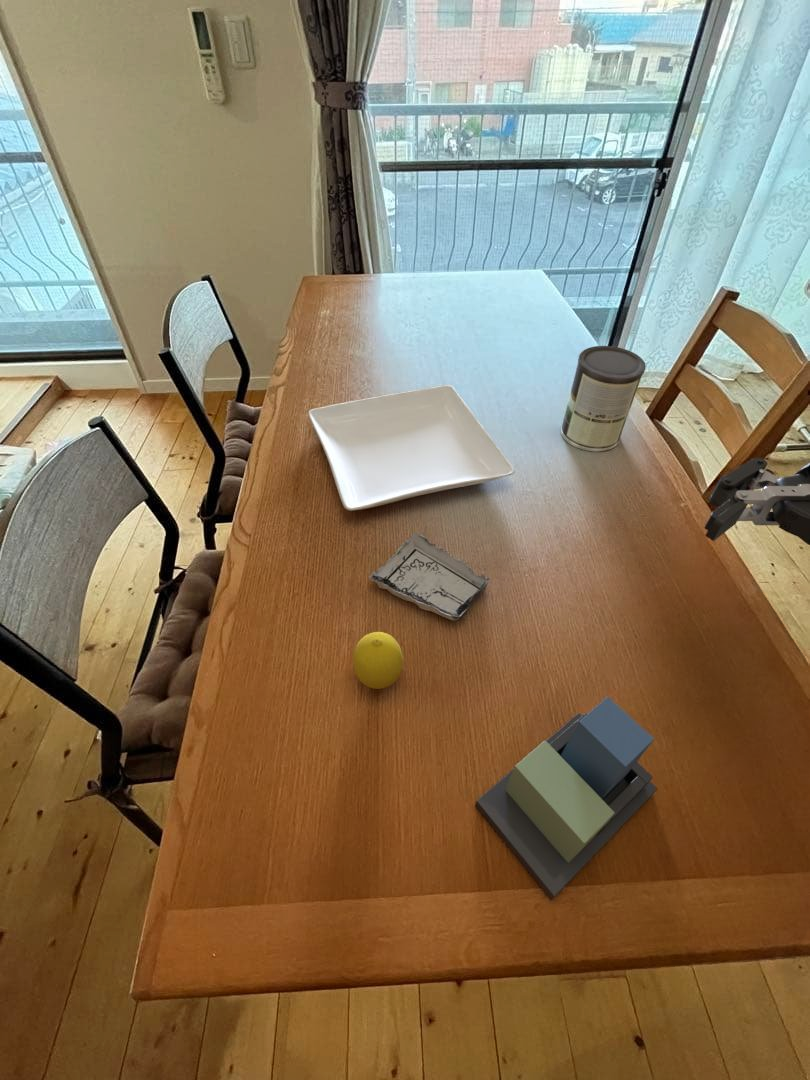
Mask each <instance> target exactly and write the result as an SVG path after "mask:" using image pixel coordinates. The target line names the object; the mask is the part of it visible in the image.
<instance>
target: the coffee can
mask: <svg viewBox="0 0 810 1080" xmlns="http://www.w3.org/2000/svg"><path fill="white" fill-rule="evenodd" d="M646 368H647V367H646V362H645V361H644V359H643V358H642V357H641V356H639V355H638V354H636V353H635V352H633V351H631V350H628V349H625V348H622V347H618V346H612V345H596V346H590V347H587V348H585V349H583V350H582V351H580V353H579V354H578V358H577V365H576V370H575V373H574V376H573V381H572V385H571V389H570V393H569V397H568V400H567V405H566V409H565V413H564V417H563V421H562V424H561V427H560V434H561V437H562V439H564V440H565V442H567V443H568V444H570V446H572V447H575V448H577V449H579V450H583V451H586V452H587V451H588V452H592V453H593V452H596V453H598V452H607V451H610V450H612V449H613V448H615V447H617V446H618V445H619V444H620V440H621V436H622V433H623V430H624V428H625V424H626V422H627V419H628V416H629V413H630V411H631V408H632V404H633V402H634V399H635V396H636V393H637V391H638V388H639V385H640V383H641V379H642V377H643V375H644V373H645V372H646Z"/></svg>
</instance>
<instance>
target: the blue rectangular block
mask: <svg viewBox="0 0 810 1080" xmlns="http://www.w3.org/2000/svg"><path fill="white" fill-rule="evenodd" d="M586 714H587V715H586V716H585V717H583V718H582V719H581V720H580V721H579V722H578V724H577V726H576V728H575V730H574V732H573V734H572V735H571V737H570V739H569V741H568V743H567V745H566V747H565V749H564V751H563V752H562V754H561V757H562V758H563V759H564V760H565V761H566V762H567V763H568V764H569V765H570V767H571V768H572V769H573V770H574V771H575V772H576V773H577V774H578V775H579V776H580V777H581V778H582V779H583V780H584V781H585V782H586V783H587V784H588V785H589V786H590V787H591V788H592V789H593V790H594V791H595V792H596V794H597V795H598V796H599V797H600V798H601V799H602V800H603V799H604V798H605V797H606V796H607V795H608V794H609V793H610V792H611V791H612V790H613V789H614V788H615V787H616V786H618V785H619V784H620V783H621V781H622V780H623V779H624V777H625V776H626V775H627V774H628V772H629V771H630V770H631V768H632V767H633V766H634V765H635V763H636V762H638V761H639V760H640V758H641V757H642V756H643V755H644V753H645V752H646V751H647V750H648V748H649V747H651V746H650V745H652V743H653V742H654V741H655V738H654V737H653V736H652V735H651V734H650V733H649V732H648V731H646V730H645V729H644V727H642V726H641V725H640V724H639V723H638V722H637V721H636V720H634V719H633V718H632V717H631V716H630V715H629V714H628V713H626V711H624V709H622V708H621V707H620V706H619V705H618V704H617V703H616V702H615V701H614V700H612V698H610V696H606V697H605V698H604V699H603V700H602V701H601V702H599V703H598V704H597V705H596V706H595V707H594V708H592V709H591V710H590V711H589V712H588V713H586Z"/></svg>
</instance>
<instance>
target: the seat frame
mask: <svg viewBox="0 0 810 1080" xmlns="http://www.w3.org/2000/svg"><path fill="white" fill-rule="evenodd" d="M587 714H588V713H586V712H584V713H583V715H581V713H580V712H578V713H576V714H575V715H574V716H573V717H572V718H570V719H569V720H568V721H567V722H566V723H565V724H563V726H561V727H560V728H559V729H558V730H556V731H555V732H554V733H553V734H552V735H551V736H549V737H548V738H547V739H546V740H543V741H542V742H541V743H539V744H538V745H537V746H536V747H535V748H534V749H533V750H531V752H529V753H528V754H527V755H526V756H525V757H523V758H522V759H521V760H520V761H519V762H518V763H516V764H515V765H514V768H512V769H511V770H510V771H509V772H508V773H507V774H505V775H504V776H503V777H502V778H501V779H500V780H498V781H497V782H496V783H495V784H494V785H493V786H492V787H490V788H489V789H488V790H487V791H486V792H485V793H483V794H482V795H481V796H480V797H479V798H477V799H476V800H475V803H474V807H476V809H477V810H478V812H479V813H480V814H481V816H482V817H483V818H484V819H485V821H486V822H487V823H488V824H489V825H490V827H491V828H492V829H493V830H494V831H495V833H496V834H497V835H498V836H499V838H500V839H501V840H502V842H503V843H504V844H505V845H506V846H507V848H508V849H509V850H510V852H511V853H512V854H513V855H514V856H515V858H516V859H517V860H518V861H519V863H520V864H521V865H522V867H524V869H525V870H526V871H527V873H528V874H530V876H531V878H532V879H533V880H534V881H535V883H536V884H537V885H538V886H539V887H540V888H541V890H542V891H543V892H544V894H545V895H546V896H547V897H548V899H549V900H550V901H552V900H553V899H554V898H555V897H557V895H558V894H559V893H560V892H561V891H562V890H563V889H564V888H565V887H566V886H567V885H568V884H569V883H570V882H571V880H572V879H574V878H575V876H576V875H577V874H578V873H579V872H581V870H582V869H583V868H584V867H585V866H586V865H587V864H588V863H589V862H590V861H591V860H592V859H593V858H594V856H595V855H596V854H598V852H599V851H601V849H602V848H603V847H604V846H605V845H606V844H607V843H608V842H609V841H610V840H611V838H613V837H614V836H615V834H617V832H618V831H619V830H621V829H622V827H623V826H624V825H625V824H626V823H627V822H628V821H629V820H630V819H631V818H632V817H633V816H634V815H635V814H636V813H637V812H638V810H639V809H640V808H641V807H642V806H643V805H644V804H645V803H646V802H647V801H649V799H650V798H651V797H652V796H653V795H654V794H655V793H656V792H657V790H658V788H657V786H656V785H655V784H653V782H651V780H652V779H653V778H654V777H653V775H652V774H651V773H649V772H648V771H647V769H645V768H644V767H643V766H642V765H641V764H640V763H639V762H638V761H637V762H636V763H635V765H634V766H633V767H632V768H631V770H630V771H629V772H628V774H627V775H626V776H625V777H624V779H623V780H622V781H621V783H620V784H619V785H618V786H616V787H615V788H614V789H613V790H612V791H611V792H610V793H609V794H608V795H607V796H606V797H605V798H604V799H603V800H602V799H601V798H600V797H599V796H598V795H597V794H596V792H595V791H594V790H593V789H592V788H591V787H590V786H589V785H588V784H587V783H586V782H585V781H584V780H583V779H582V778H581V777H580V776H579V775H578V774H577V773H576V772H575V771H574V770H573V769H572V768H571V767H570V765H569V764H568V763H567V762H566V761H565V760H564V759H563V758H562V757H561V754H562V752H563V751H564V749H565V747H566V745H567V743H568V741H569V739H570V737H571V735H572V734H573V732H574V730H575V728H576V726H577V724H578V722H579V721H580V720H581V719H582V718H583V717H585V716H586V715H587Z"/></svg>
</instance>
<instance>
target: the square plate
mask: <svg viewBox="0 0 810 1080" xmlns="http://www.w3.org/2000/svg"><path fill="white" fill-rule="evenodd" d="M307 413H308V417H309V420H310V423H311V425H312V426H313V429H314V431H315V433H316V435H317V437H318V440H319V441H320V444H321V446H322V449H323V452H324V454H325V456H326V459H327V461H328V464H329V467H330V470H331V474H332V477H333V480H334V483H335V486H336V489H337V492H338V495H339V499H340V501H341V504H342V507H343V508H344V509H345V510H346V511H361V510H366V509H371V508H376V507H378V506H385V505H388V504H391V503H395V502H398V501H403V500H406V499H410V498H415V497H418V496H423V495H427V494H433V493H437V492H441V491H447V490H452V489H457V488H462V487H468V486H472V485H479V484H483V483H487V482H491V481H496V480H499V479H502V478H505V477H508V476H512V475H514V474H515V472H516V471H515V468H514V467H513V465H512V464H511V462H510V461H509V460H508V458H507V456H506V455H505V454H504V453H503V451H502V450H501V449H500V447H499V446H498V445H497V443H495V441H494V440H493V438H492V437H491V436H490V434H489V433H488V432H487V430H486V429H485V428H484V427H483V425H482V423H480V421H479V420H478V419H477V417H476V416H475V414H474V413H473V411H472V410H471V409H470V408H469V406H468V404H467V403H466V402H465V401H464V400H463V398H462V397H461V395H460V394H459V392H458V391H457V390H456V389H455V388H454V386H453V385H451V384H443V385H437V386H431V387H425V388H418V389H411V390H406V391H400V392H394V393H388V394H384V395H378V396H373V397H367V398H362V399H357V400H356V399H355V400H350V401H346V402H340V403H336V404H329V405H325V406H320V407H315V408H311V409H309V410H308V411H307Z"/></svg>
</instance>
